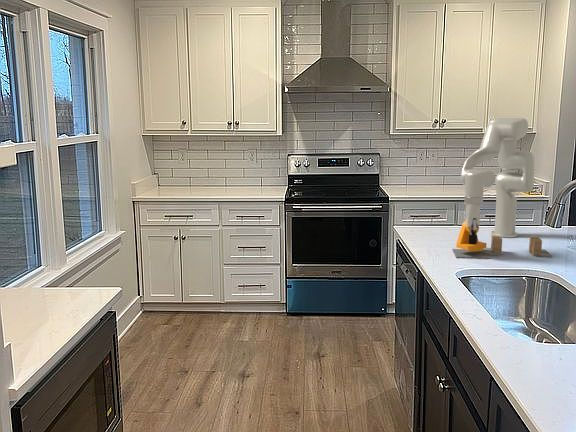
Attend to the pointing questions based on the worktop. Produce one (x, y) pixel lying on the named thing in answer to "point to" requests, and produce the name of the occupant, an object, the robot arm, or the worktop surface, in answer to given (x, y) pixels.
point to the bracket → (464, 240)
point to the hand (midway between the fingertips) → (471, 242)
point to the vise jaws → (534, 247)
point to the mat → (470, 254)
